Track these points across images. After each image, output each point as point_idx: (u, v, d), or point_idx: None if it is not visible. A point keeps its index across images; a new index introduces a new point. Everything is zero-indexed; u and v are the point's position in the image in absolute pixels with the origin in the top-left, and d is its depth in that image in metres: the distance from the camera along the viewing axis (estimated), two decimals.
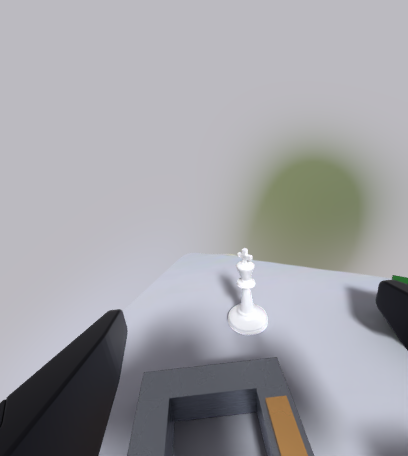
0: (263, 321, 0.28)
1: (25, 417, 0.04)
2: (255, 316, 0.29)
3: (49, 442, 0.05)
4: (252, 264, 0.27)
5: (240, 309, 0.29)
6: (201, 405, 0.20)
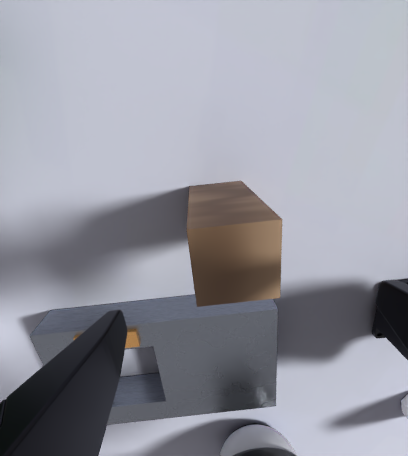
0: None
1: (25, 417, 0.04)
2: None
3: (49, 442, 0.05)
4: None
5: None
6: None
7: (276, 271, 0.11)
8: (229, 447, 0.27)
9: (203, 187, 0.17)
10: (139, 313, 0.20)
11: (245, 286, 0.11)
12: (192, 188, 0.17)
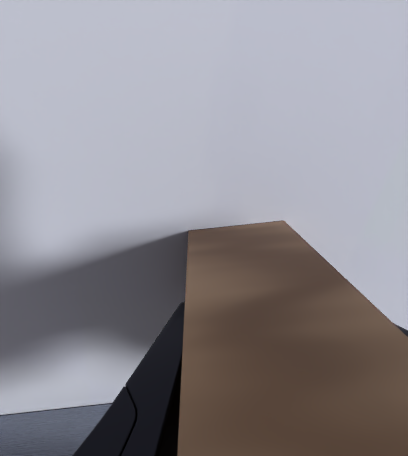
0: None
1: (157, 402, 0.04)
2: None
3: (176, 428, 0.05)
4: None
5: None
6: None
7: None
8: None
9: (215, 237, 0.09)
10: None
11: None
12: (194, 239, 0.09)
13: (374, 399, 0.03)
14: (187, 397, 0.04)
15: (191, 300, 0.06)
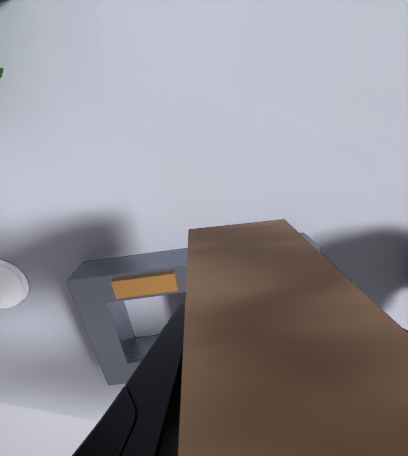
0: (1, 269, 0.20)
1: (157, 402, 0.04)
2: None
3: (176, 428, 0.05)
4: None
5: None
6: (125, 331, 0.22)
7: None
8: None
9: (215, 236, 0.09)
10: (175, 258, 0.20)
11: None
12: (194, 237, 0.09)
13: (376, 396, 0.03)
14: (188, 394, 0.04)
15: (191, 298, 0.06)
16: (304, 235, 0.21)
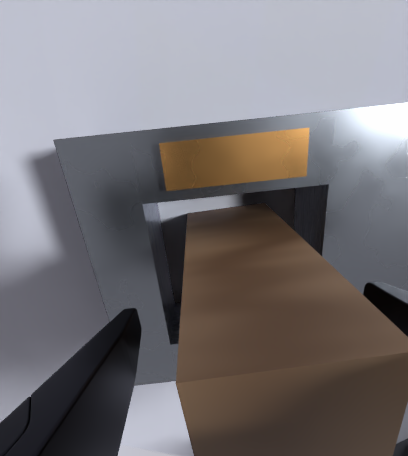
0: None
1: (52, 414, 0.04)
2: None
3: (75, 439, 0.05)
4: None
5: None
6: (165, 284, 0.12)
7: (386, 444, 0.05)
8: None
9: (208, 217, 0.11)
10: None
11: None
12: (191, 218, 0.11)
13: (295, 288, 0.06)
14: (186, 296, 0.06)
15: (189, 253, 0.08)
16: None
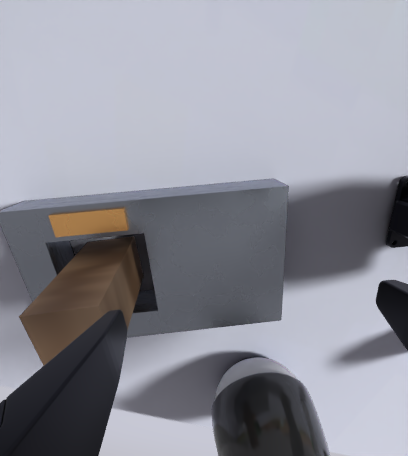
0: None
1: (25, 417, 0.04)
2: None
3: (49, 442, 0.05)
4: None
5: None
6: None
7: None
8: (227, 378, 0.24)
9: (95, 245, 0.19)
10: (128, 196, 0.17)
11: None
12: (86, 246, 0.20)
13: (87, 286, 0.14)
14: (45, 289, 0.14)
15: (64, 269, 0.16)
16: (274, 180, 0.19)
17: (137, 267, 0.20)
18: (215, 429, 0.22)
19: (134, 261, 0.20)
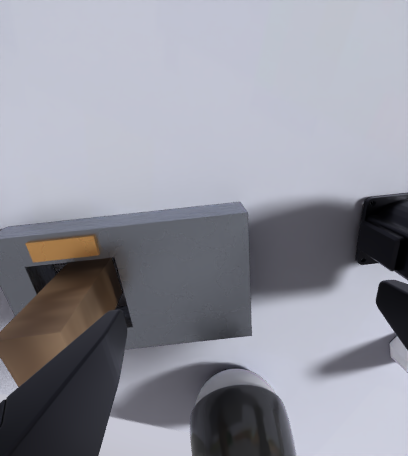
0: None
1: (25, 417, 0.04)
2: None
3: (49, 442, 0.05)
4: None
5: None
6: None
7: None
8: (206, 388, 0.25)
9: (74, 266, 0.21)
10: (100, 222, 0.19)
11: None
12: (66, 267, 0.21)
13: (56, 311, 0.15)
14: (19, 314, 0.16)
15: (40, 292, 0.18)
16: (239, 203, 0.20)
17: (114, 286, 0.22)
18: (191, 438, 0.23)
19: (110, 281, 0.21)
